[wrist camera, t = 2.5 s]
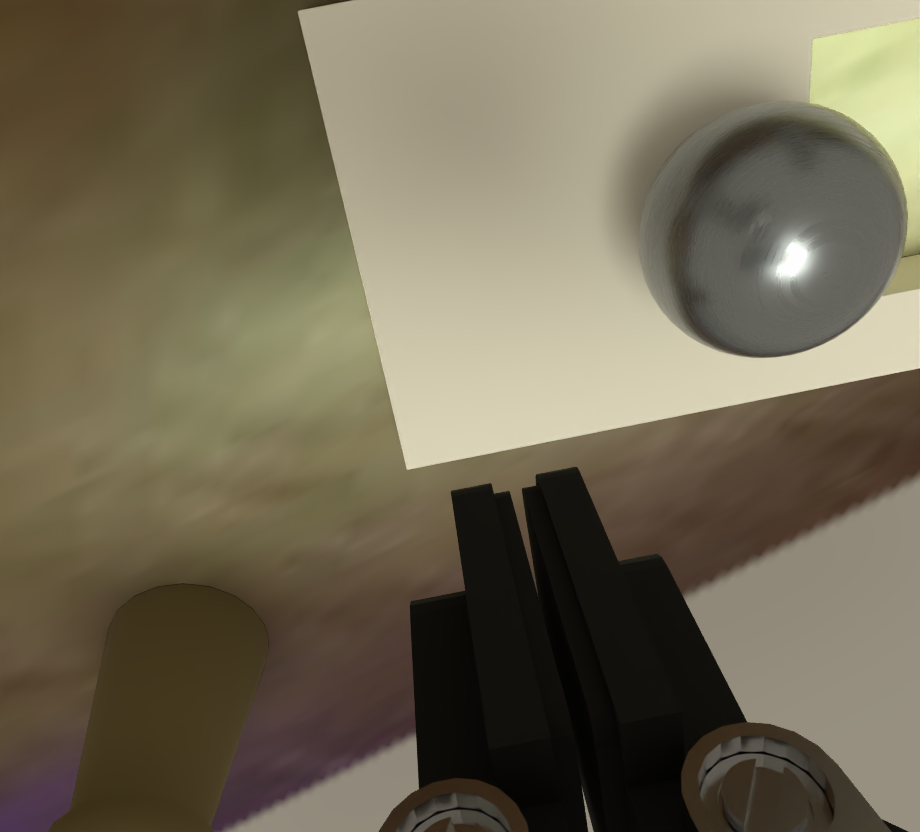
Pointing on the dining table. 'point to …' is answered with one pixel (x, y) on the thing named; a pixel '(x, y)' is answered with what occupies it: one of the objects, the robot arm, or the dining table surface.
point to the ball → (772, 229)
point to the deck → (556, 205)
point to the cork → (167, 712)
